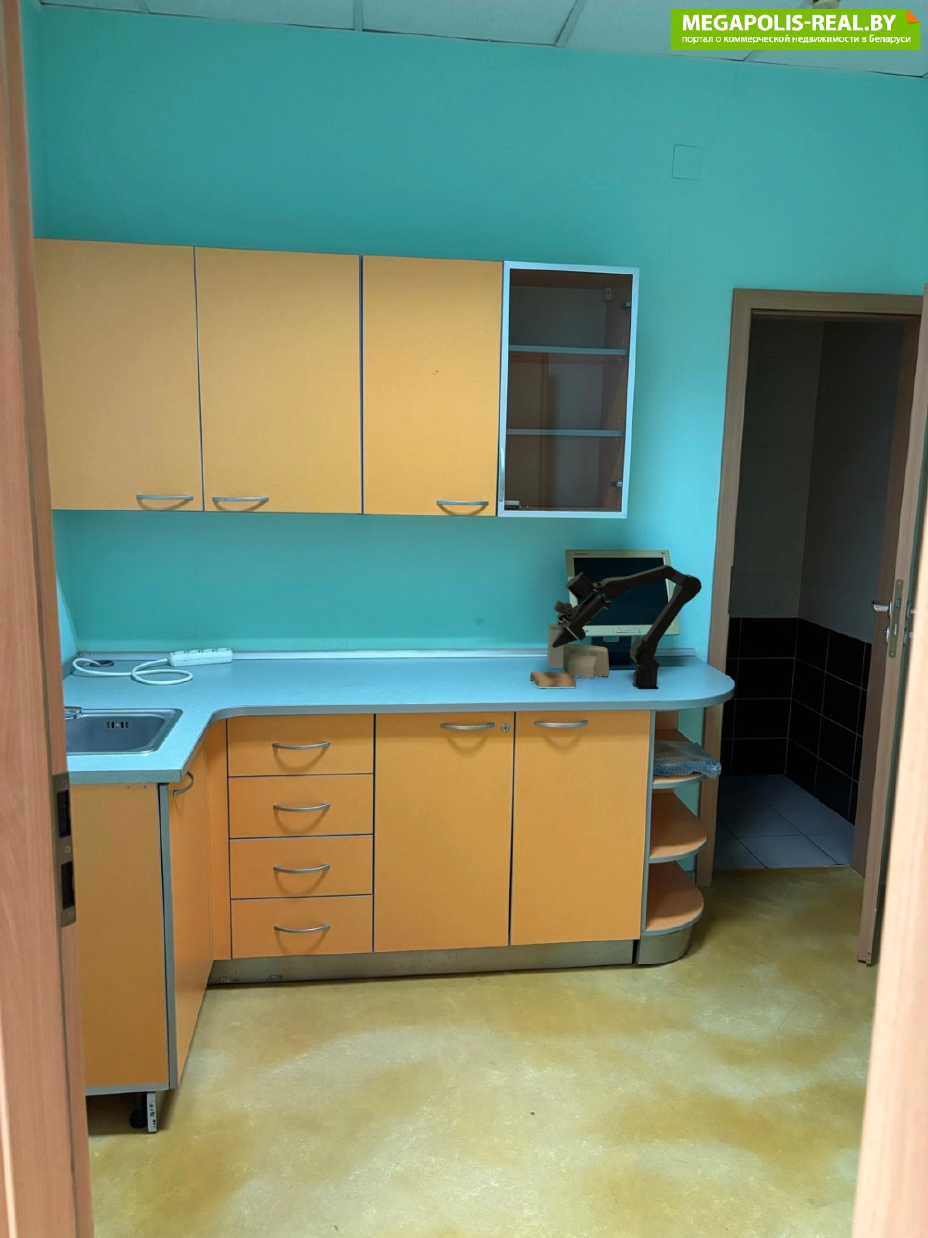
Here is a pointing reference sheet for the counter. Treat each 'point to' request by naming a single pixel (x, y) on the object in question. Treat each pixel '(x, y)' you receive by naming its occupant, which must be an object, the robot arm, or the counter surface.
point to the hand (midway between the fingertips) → (551, 645)
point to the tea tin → (553, 653)
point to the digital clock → (585, 660)
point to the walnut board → (553, 679)
